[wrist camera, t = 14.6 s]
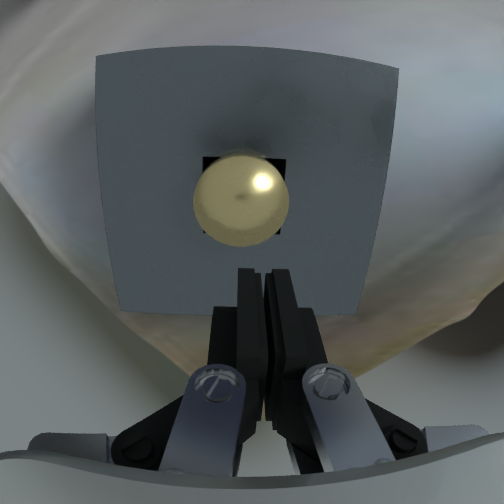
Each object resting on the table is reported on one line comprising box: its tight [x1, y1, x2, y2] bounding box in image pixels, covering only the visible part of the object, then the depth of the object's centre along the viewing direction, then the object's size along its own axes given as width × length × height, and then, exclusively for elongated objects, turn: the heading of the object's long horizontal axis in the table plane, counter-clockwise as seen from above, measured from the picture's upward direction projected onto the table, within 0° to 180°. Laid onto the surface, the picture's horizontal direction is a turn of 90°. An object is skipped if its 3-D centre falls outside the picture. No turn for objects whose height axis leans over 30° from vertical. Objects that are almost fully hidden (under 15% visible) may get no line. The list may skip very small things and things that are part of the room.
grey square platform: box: [95, 46, 399, 316], centre depth 25 cm, size 20×20×8 cm
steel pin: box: [193, 152, 289, 247], centre depth 24 cm, size 6×6×10 cm
